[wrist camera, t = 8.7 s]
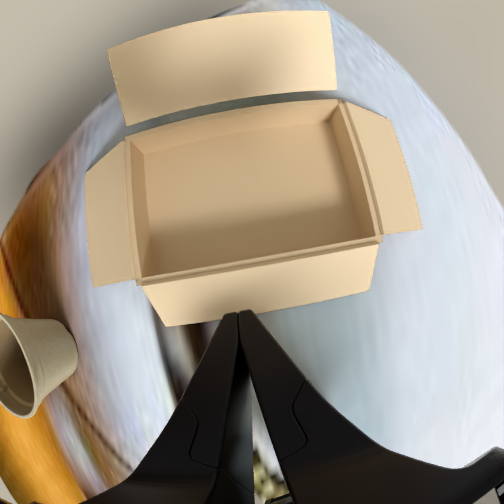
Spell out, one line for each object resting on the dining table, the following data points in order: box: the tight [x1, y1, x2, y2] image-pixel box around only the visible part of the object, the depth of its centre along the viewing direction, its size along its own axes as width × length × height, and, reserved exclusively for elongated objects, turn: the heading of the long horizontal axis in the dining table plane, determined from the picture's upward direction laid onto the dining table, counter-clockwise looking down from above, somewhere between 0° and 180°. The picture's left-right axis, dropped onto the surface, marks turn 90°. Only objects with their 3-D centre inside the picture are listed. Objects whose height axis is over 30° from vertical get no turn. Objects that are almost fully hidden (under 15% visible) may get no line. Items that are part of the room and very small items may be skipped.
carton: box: [85, 99, 422, 327], centre depth 20 cm, size 16×30×4 cm, turn 100°
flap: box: [107, 11, 337, 126], centre depth 17 cm, size 1×17×7 cm
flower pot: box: [0, 313, 78, 419], centre depth 18 cm, size 9×9×9 cm
